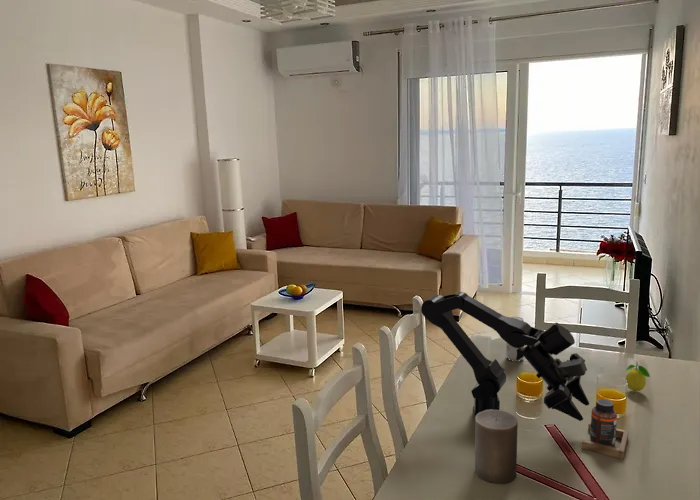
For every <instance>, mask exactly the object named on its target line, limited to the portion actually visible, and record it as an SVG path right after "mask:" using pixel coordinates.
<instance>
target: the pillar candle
mask: <svg viewBox="0 0 700 500" xmlns="http://www.w3.org/2000/svg"><path fill="white" fill-rule="evenodd" d="M474 418H475V419H474V420H475V423H474V424H475V425H474V428H475V431H474V434H475V435H474V471H475V474H476V475H477V477H478V478H479V479H481V480H483V481H484V482H488V483H491V484H498V485H504V484H505V485H506V484H509V483H511V482H512V481H514V480H516V478H517V469H518V467H517V466H518V465H517V463H518V462H517V459H518V458H517V457H518V419H517V417H516V416H515V415H513V414H512V413H511V412H508V411H506V410H505V411H504V410H501V409H500V410H492V409H490V410H485V411H482V412H479V413H478V414H477V415H476V417H475V416H474Z"/></svg>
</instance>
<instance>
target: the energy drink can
mask: <svg viewBox="0 0 700 500" xmlns="http://www.w3.org/2000/svg"><path fill="white" fill-rule="evenodd" d="M511 318H516V319H518V320H521V321H524V318H523V317H519V316H511ZM524 347H525V346H523V347H521V348H524ZM517 349H518V348H514V347H512V346H511V345H509V344H508V343H507V342H506V353H505V354H506V357H507V359H508V360H509V359H510V360H513V361H512V362H515V361H518V362H520V361H519V360H521V361H523V359H524V358H525V357H522V358H521V359H519V360H517V359H516V357H517ZM510 360H509V361H510Z"/></svg>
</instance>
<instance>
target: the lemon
mask: <svg viewBox="0 0 700 500" xmlns="http://www.w3.org/2000/svg"><path fill="white" fill-rule="evenodd" d="M635 363H636V365H635V364H629V366H627V368H626V370H625V371H626V372H627V371H628V372H627V373H626V377H625V381H626V380H627V383H628V387H627V388H628V389H629V390H631V391H632V392H633V393H637V392H641V391H642V390H644V388H645V387H646V383H647V380H646V377H647V378H651V377H650V373H649V371H648V369H646V368H645V366H642V365H639V364H638V362H635Z"/></svg>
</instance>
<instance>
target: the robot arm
mask: <svg viewBox="0 0 700 500" xmlns="http://www.w3.org/2000/svg"><path fill="white" fill-rule="evenodd" d="M420 306H421V307H420V312H421V314H422V315H423V317H424V318H425V319H426V320H427V321H428V322H429V323H431V325H434V326H436V327H438V328H440V330H441V331H442V332H443V333H444V335H445V336H446V337H447V338H448V339H449V341H450V342H451V343H452V345H453V346H454V347H455V348H456V349H457V351H458V352H459V354H461V355H462V357H463V359H465V362H466V363H468V364H469V366H470V367H471V369H472V371H473V375H474V378H475V381H476V385H475V386H474V387H473V388H472V390H470V391H471V395H472V398H473V407H472V409H473V415H474V418H475V417H476V415H477V414H478V413H479V412H482V411H485V410H490V409H492V410H501V409H500V398H499V396H498V393H499V392H500V390H501V389H502V388H503V386H505V384H506V383H507V374H506V373H505V371H506V369H505V368H503V367H502V365H501V364H500V363H499V361H498V360H497V359H495V358H494V359H493V360H489V359H487V358H486V356H484V355H483V353H482V352H481V350H480V349H479V348H478V346H476V344H475V343H474V342H473V341H472V339H471V338H470V337H469V335H468V334H467V333H466V331H464V329H463V328H462V327H461V325H460V324H459V323H458V321H457V320H456V319H455V318H454V313H453V311H455V310H457V309H458V310H460V311H462V312H463V313H465V314H467V315H469V316H470V317H472V318H474V319H475V320H477V321H478V322H480V323H482V324H483V325H486V326H487V327H489V328H491V329H492V330H493V331H495V332H496V333H497V334H498V335H499V336H500V337H499V338H501V339H502V340H503V341H505V343H506V344H507V343H508V344H509V345H511V346H512V347H514V348H518V349H517V357H516V359H517V360H519V359H521V358H522V357H524V358H525V360H526V361H527V362H528V363H529V364H530V365H531V367H533V369H534V370H535V372H536V375H535V376H536V378H537V379H540V378H541V379H542V380H543V381H544V382H545V384H546V385H547V387H546V389H547V390H548V392H546V394H545V396H544V397H543V404H544V405H545V406H546V407H547V408H548V409H552V410H556V411H559V412H561V413H563V414H565V415H568V416H569V417H571V418H573V419H575V420H577V421H578V422H581V421H583V420H584V417H583V416H582V414H581V412H580V411H579V409H578V407H577V406H576V405H575V403H574V402H573V398H574V399H576V400H577V401H578V402H580V403H581V404H582V405H584V406H589V405H590V401H589V400H588V397H587V395H586V394H585V391H584V389H583V387H582V384H581V380H582V379H581V378H582V376H584V375H586V372H587V371H588V369H587V366H586V364H585V362H586V360H585V359H584V357H583V356H580V355H579V354H578V353H577V352H575V353H571V354H570V356H569V359H566V361H561V360H560V358H558V357H557V358H554V357H553V356H552V355H554V356H557V355H559V354H561V353H562V352H564V351H565V350H567V349H569V348H570V347H571V346H573V345H575V343H576V342H575V338H574V336H573V335H572V333H571V332H570V330H569V329H566V328H565V327H564V326H563V325H561V324H559V323H558V322H557V321H556V322H554V323H553V324H552V325H551V326H550V327H549V328H547V329H546V330H544V329H541V328H537V327H534V326H531V325H530V324H529V323H528V322H526V321H524V320H523V321H521V320H518V319H516V318H511V317H512V316H511V317H509V316H506V315H503V314H501V313H499V312H497V311H496V310H494V309H493V308H491V307H489V306H487V305H486V304H484V303H482V302H481V301H478V300H477V299H475V298H473V297H472V296H471V295H468V293H467V292H464V291H458V292H457V293H450V294H447V295H440V294H434V295H432V296H431V297H429V298H428V299H426V300H424V301H423V302H422V303H421V305H420ZM523 346H524V348H521V347H523Z"/></svg>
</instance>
